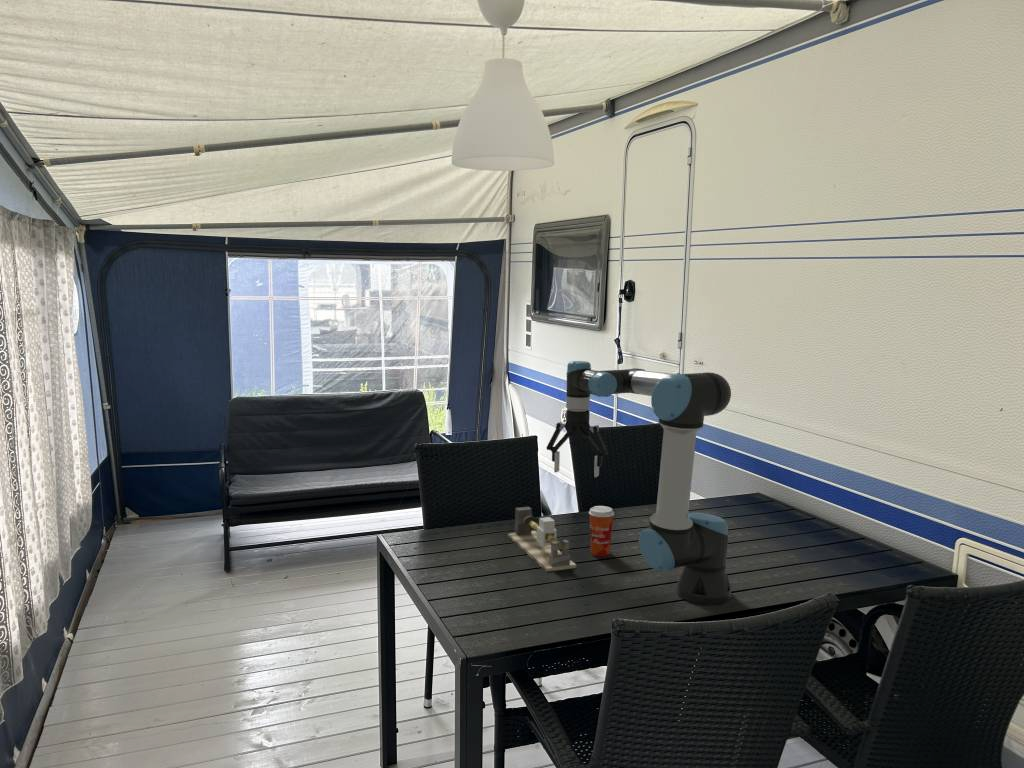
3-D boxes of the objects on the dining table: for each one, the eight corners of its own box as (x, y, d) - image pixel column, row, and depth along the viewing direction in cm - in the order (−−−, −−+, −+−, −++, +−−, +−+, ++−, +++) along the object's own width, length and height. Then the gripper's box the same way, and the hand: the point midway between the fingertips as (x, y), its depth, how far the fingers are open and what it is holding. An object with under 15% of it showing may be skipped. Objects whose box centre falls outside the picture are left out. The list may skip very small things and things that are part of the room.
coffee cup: (583, 554, 250) (584, 510, 248) (593, 547, 257) (594, 503, 255) (607, 559, 246) (609, 514, 244) (616, 551, 253) (618, 507, 251)
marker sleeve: (556, 544, 246) (557, 521, 245) (542, 546, 244) (543, 522, 243) (550, 539, 251) (550, 516, 249) (536, 541, 249) (537, 517, 248)
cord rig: (576, 567, 239) (577, 536, 237) (546, 571, 235) (547, 540, 234) (534, 533, 270) (535, 505, 269) (508, 536, 267) (508, 508, 265)
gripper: (618, 410, 245) (616, 475, 248) (545, 404, 255) (544, 467, 258) (612, 414, 238) (610, 480, 241) (537, 408, 248) (536, 472, 251)
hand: (576, 473), depth 249 cm, fingers open, 13 cm apart
